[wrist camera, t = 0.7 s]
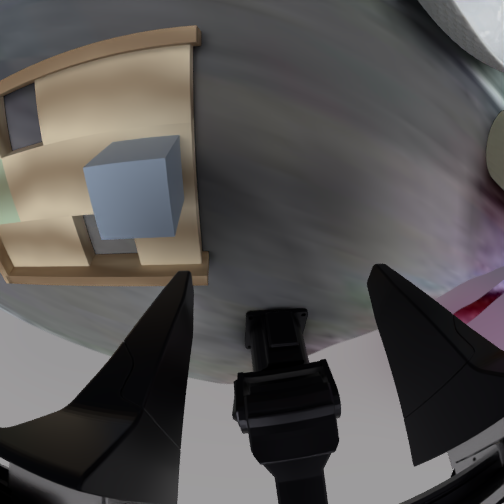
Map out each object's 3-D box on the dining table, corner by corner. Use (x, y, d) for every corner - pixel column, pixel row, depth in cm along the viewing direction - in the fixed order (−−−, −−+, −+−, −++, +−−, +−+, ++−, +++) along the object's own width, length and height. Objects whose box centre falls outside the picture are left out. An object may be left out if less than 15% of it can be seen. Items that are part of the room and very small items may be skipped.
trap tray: (209, 260, 24) (207, 285, 22) (18, 264, 22) (6, 283, 20) (201, 31, 13) (196, 25, 11) (-30, 103, 11) (-52, 114, 9)
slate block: (184, 198, 19) (174, 236, 15) (123, 202, 18) (101, 239, 15) (179, 134, 16) (165, 158, 12) (112, 142, 15) (82, 167, 12)
